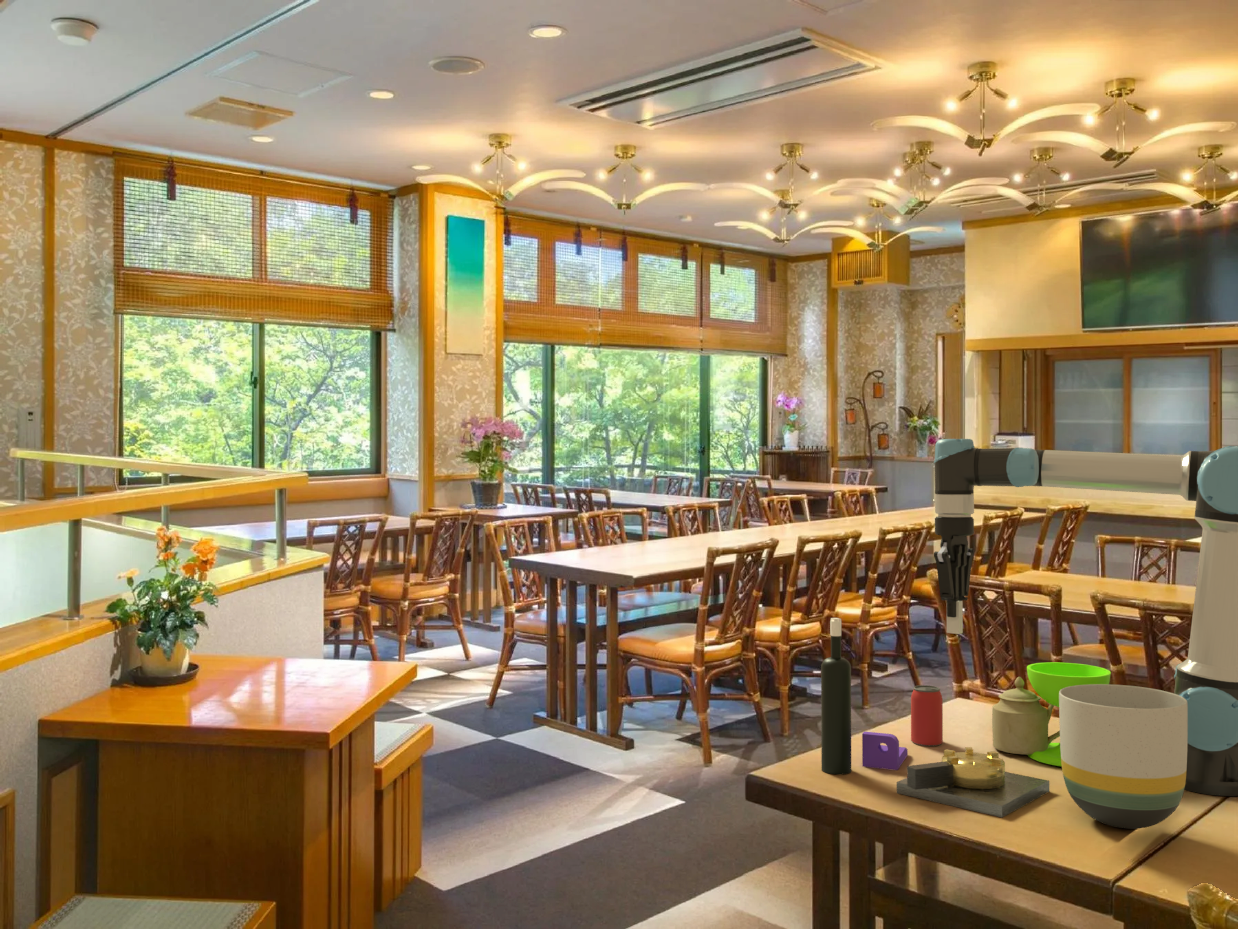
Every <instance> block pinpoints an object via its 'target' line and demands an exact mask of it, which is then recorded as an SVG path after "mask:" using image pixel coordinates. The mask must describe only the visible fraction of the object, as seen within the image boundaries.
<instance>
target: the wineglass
mask: <svg viewBox="0 0 1238 929" xmlns="http://www.w3.org/2000/svg"><path fill="white" fill-rule="evenodd" d="M1026 673H1027V678H1028V681H1029V683H1030V684H1031V687H1032V689H1033V690H1034V691H1035V692H1036V695H1037V696H1039V697H1040V698H1041V700H1043V701H1045V702H1047V704H1048V705H1050V704H1052V705H1054V707H1057V708H1059V691H1060V690H1061V689H1063V688H1066V687H1070V686H1076V685H1088V684H1110V681H1111V675H1112V674H1111V673H1112V672H1111V670H1109V669H1106V668H1105V667H1101V666H1096V665H1090V664H1083V663H1074V662H1050V661H1049V662H1036V663H1031V664H1028V665H1027V666H1026ZM1027 756H1028V758H1030V759H1032V760H1034V761H1036V762H1039V763H1043V764H1046V765H1052V766H1057V767H1062V765H1061V749H1060V742H1051V743H1050V744H1049V745H1048V749H1047V750H1045V751H1042V752H1040V751H1037V752H1034V753H1033V754H1030V755H1027Z"/></svg>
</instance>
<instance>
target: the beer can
mask: <svg viewBox="0 0 1238 929" xmlns="http://www.w3.org/2000/svg"><path fill="white" fill-rule="evenodd" d="M910 695H911V696H910V741H911V742H912V743H913V744H915V745H918V746H922V747H937V746H940V745H942V744H943V741H944V740H943V739H944V738H943V735H944V734H943V733H944V732H943V730H944V729H943V728H944V727H943V726H944V725H943V724H944V723H943V720H944V719H943V714H944V713H943V712H944V711H943V710H944V709H943V704H944V702H943V701H944V700H943V699H944V698H943V695H942V693H941V688H940V687H938V686H935V685H924V684H923V685H922V684H921V685H920V684H919V685H915V686H913V691H912V692H911V694H910Z"/></svg>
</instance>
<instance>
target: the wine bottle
mask: <svg viewBox="0 0 1238 929" xmlns="http://www.w3.org/2000/svg"><path fill="white" fill-rule="evenodd" d="M829 624H830V625H829V626H830V627H829V628H830V629H829V630H830V631H829V635H830V657H826V658H825V659H823V661H822V662H821V664H820V666H821V667H820V671H821V672H820V677H821V678H820V688H821V690H820V692H821V696H820V698H821V699H820V700H821V702H820V704H821V705H820V707H821V708H820V709H821V710H820V711H821V712H820V713H821V714H820V715H821V718H820V719H821V722H820V723H821V724H820V726H821V730H820V731H821V733H820V734H821V743H820V744H821V745H820V747H821V748H820V749H821V750H820V751H821V757H820V758H821V771H822V772H824V773H826V774H830V775H848V774H850V773H851V772H852V666H851V663H850V661H849V660H848V659H846V658H844V657H842V618H839V617H830V621H829Z"/></svg>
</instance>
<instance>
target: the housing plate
mask: <svg viewBox="0 0 1238 929" xmlns="http://www.w3.org/2000/svg"><path fill="white" fill-rule="evenodd" d="M1049 792H1050V780H1048V779H1044V778H1038V777H1033V776H1028V775H1022V774H1018V773H1014V772H1008V771H1005V784H1004V785H1003V786H1001V787H997V788H990V789H975V788H966V787H960V786H956V785H947V786H940V787H932V788H925V789H917V790H915V789H913V788H911V787H909V786H907V777H906V778H903V779H901V780H899V781H897V782H896V794H900V795H903V796H908V797H912V798H917V799H919V800H920V799H921V800H926V801H929V802H933V803H937V804H938V803H939V804H943V805H947V806H951V807H955V808H959V809H962V810H967V811H968V810H969V811H973V812H976V813H981V814H986V815H990V816H993V817H998V818H1004V817H1006V816H1007V815H1009V814H1011V813H1013V812H1015V811H1017V810H1019V809H1020V808H1022V807H1024V806H1026V805H1029V803H1031V802H1034V801H1035V800H1036V799H1038V798H1040V797H1042V796H1044V795H1047V794H1048V793H1049Z"/></svg>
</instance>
